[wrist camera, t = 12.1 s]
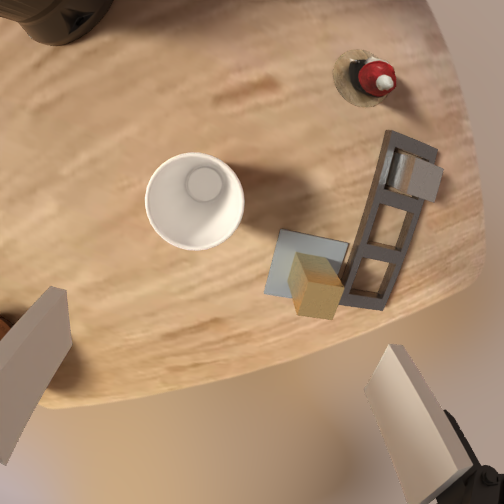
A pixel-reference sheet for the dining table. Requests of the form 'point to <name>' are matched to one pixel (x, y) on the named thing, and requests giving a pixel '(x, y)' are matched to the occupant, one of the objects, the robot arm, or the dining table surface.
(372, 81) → the figurine
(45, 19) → the robot arm
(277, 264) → the mat
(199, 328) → the dining table surface
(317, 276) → the block
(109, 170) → the dining table surface
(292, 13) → the dining table surface
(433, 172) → the block
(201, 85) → the dining table surface
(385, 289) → the grey block holder tray
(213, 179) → the cup
